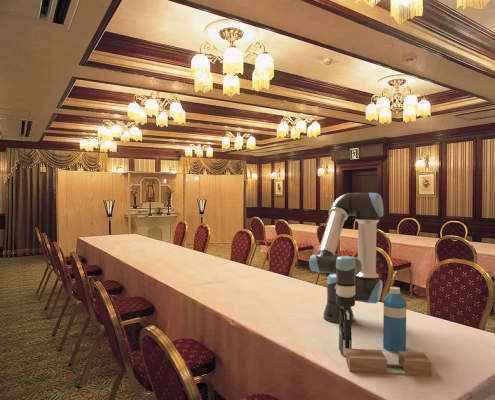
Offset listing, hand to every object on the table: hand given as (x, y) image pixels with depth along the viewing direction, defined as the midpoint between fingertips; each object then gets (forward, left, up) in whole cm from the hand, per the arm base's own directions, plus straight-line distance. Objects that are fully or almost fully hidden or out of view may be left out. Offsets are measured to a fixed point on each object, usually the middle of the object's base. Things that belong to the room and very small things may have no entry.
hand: (345, 350), depth 147 cm
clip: (0, 0, 0) cm, 0 cm away
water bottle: (-6, +21, 0) cm, 22 cm away
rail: (+13, +13, 0) cm, 18 cm away
